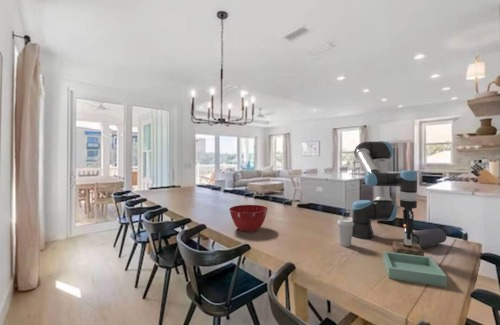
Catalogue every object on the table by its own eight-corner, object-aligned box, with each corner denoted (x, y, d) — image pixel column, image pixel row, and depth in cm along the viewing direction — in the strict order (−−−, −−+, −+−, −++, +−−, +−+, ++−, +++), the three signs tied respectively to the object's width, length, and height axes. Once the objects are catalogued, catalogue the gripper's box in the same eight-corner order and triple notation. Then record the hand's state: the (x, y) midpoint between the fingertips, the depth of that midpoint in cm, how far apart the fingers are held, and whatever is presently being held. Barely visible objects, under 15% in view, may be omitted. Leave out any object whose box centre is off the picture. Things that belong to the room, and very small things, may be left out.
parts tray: (388, 278, 111) (388, 268, 111) (382, 259, 131) (383, 251, 131) (446, 287, 104) (446, 276, 104) (431, 266, 123) (431, 257, 123)
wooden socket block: (396, 259, 131) (396, 248, 131) (392, 251, 142) (392, 241, 142) (423, 263, 127) (424, 251, 126) (417, 254, 138) (418, 243, 138)
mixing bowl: (222, 232, 178) (222, 210, 178) (239, 222, 205) (239, 203, 204) (260, 237, 168) (260, 213, 167) (272, 225, 194) (272, 205, 194)
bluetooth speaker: (431, 241, 159) (431, 225, 159) (447, 246, 150) (447, 229, 150) (405, 246, 151) (405, 229, 151) (420, 251, 142) (421, 234, 142)
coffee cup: (353, 243, 156) (353, 218, 156) (354, 248, 147) (354, 222, 147) (336, 241, 159) (337, 217, 159) (336, 246, 150) (337, 221, 150)
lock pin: (403, 254, 133) (404, 225, 133) (402, 251, 137) (402, 223, 136) (412, 255, 132) (413, 226, 131) (410, 252, 135) (411, 224, 135)
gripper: (420, 203, 125) (419, 250, 125) (413, 197, 140) (412, 240, 140) (403, 202, 127) (402, 248, 128) (397, 197, 142) (396, 238, 143)
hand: (407, 243), depth 134 cm, fingers closed on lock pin, 3 cm apart
